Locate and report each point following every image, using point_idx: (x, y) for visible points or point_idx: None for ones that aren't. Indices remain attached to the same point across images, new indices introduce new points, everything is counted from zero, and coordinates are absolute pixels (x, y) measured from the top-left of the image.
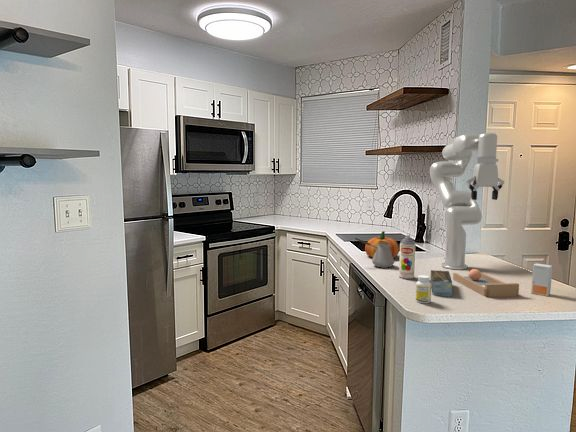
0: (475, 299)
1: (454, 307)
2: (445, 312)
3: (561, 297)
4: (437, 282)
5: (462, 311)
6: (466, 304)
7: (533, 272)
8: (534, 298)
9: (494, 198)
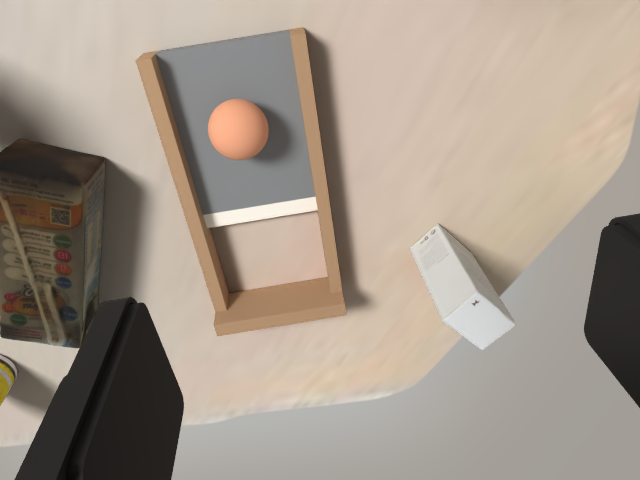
0: (175, 330)
1: None
2: None
3: None
4: (21, 338)
5: None
6: None
7: (433, 300)
8: (383, 299)
9: (599, 316)
